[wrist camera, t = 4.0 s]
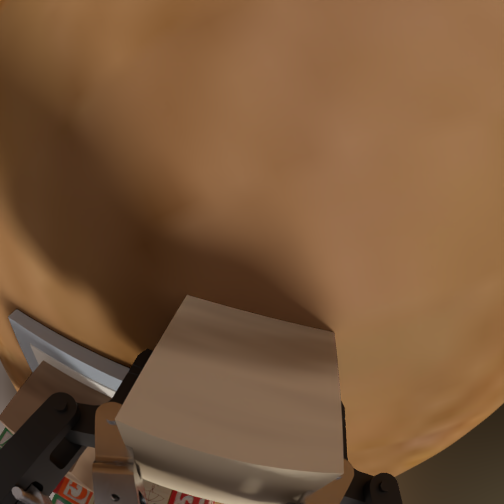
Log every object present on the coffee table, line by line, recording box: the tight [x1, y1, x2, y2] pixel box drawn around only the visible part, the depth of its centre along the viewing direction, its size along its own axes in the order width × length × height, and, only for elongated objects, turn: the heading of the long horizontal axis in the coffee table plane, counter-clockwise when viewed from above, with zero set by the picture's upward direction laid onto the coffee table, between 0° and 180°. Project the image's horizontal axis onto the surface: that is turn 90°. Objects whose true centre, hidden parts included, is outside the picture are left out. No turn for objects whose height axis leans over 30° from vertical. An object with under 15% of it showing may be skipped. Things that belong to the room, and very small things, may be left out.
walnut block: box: [0, 360, 112, 493], centre depth 13 cm, size 6×6×6 cm
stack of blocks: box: [0, 428, 215, 504], centre depth 15 cm, size 21×6×12 cm, turn 85°
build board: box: [8, 309, 130, 398], centre depth 16 cm, size 11×12×1 cm
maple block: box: [115, 295, 344, 504], centre depth 9 cm, size 6×6×6 cm
